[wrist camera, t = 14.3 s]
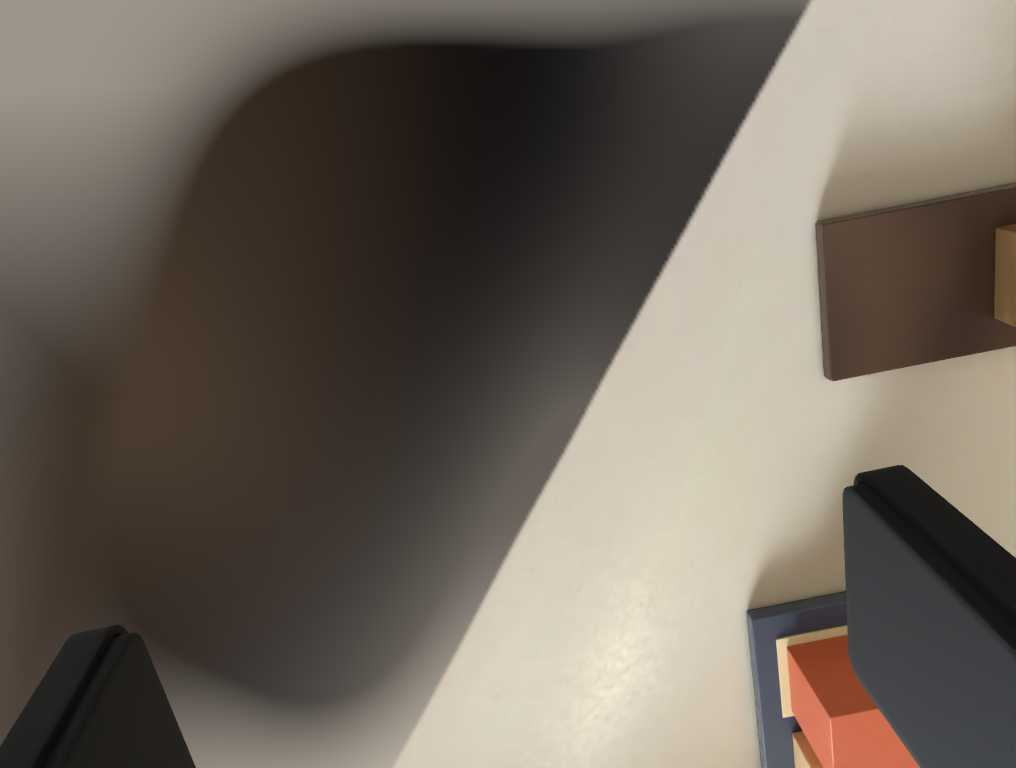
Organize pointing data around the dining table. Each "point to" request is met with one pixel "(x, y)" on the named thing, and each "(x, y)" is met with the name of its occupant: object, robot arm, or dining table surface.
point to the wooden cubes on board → (918, 282)
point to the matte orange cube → (840, 710)
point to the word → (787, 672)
